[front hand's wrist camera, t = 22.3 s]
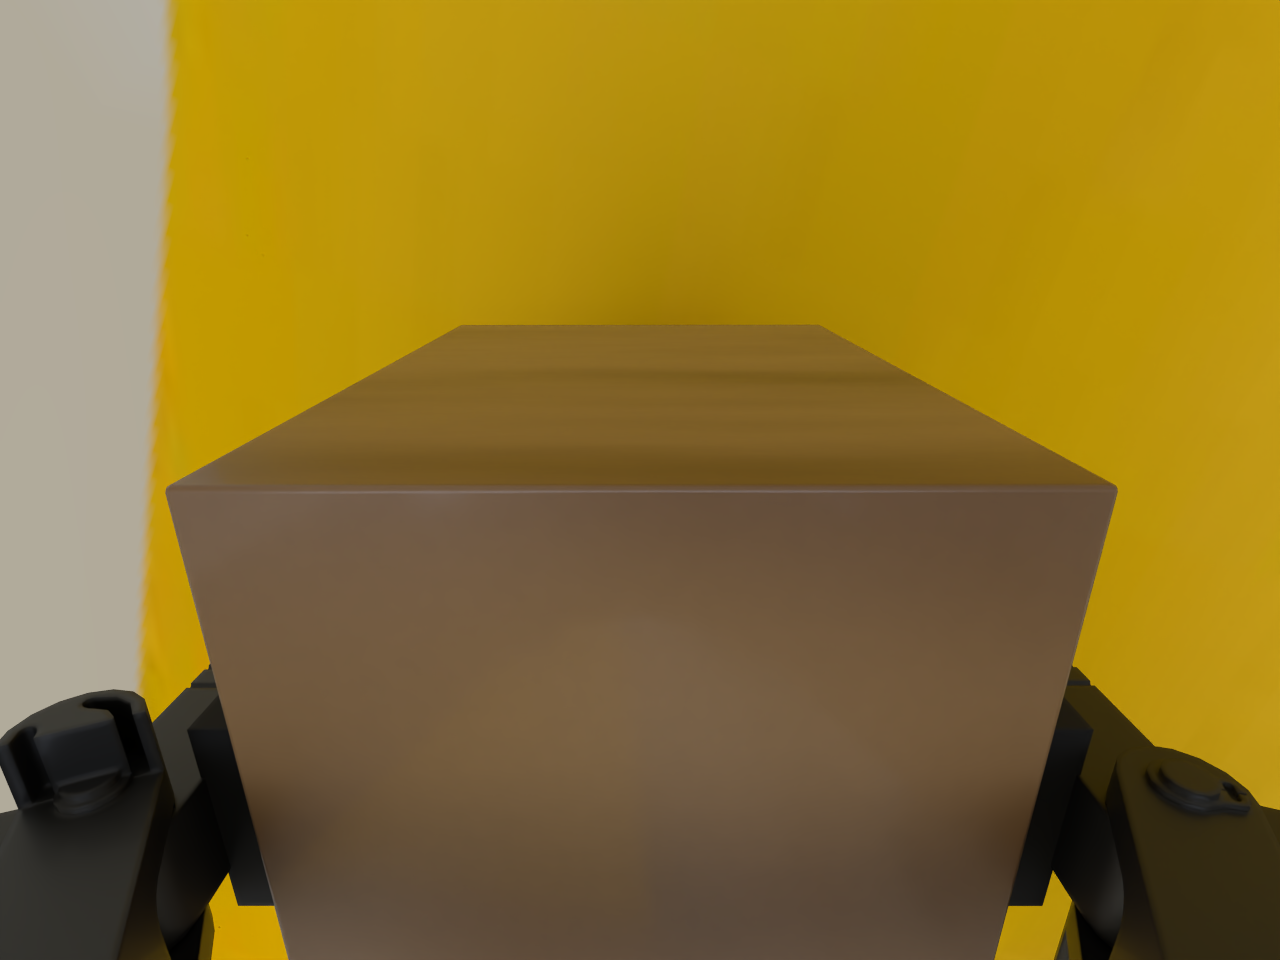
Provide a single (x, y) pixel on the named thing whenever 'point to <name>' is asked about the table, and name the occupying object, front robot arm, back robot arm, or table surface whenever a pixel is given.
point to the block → (641, 649)
